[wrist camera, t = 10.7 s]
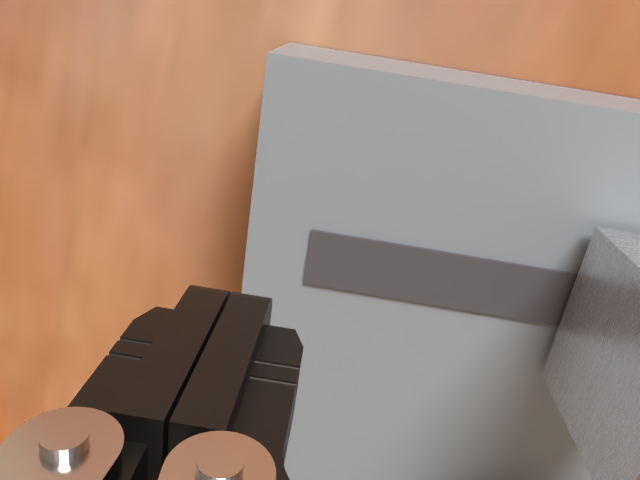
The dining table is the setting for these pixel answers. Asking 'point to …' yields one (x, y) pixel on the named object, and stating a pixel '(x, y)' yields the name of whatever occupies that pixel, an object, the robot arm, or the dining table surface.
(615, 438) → the slider
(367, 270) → the console
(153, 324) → the robot arm
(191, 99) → the dining table surface
